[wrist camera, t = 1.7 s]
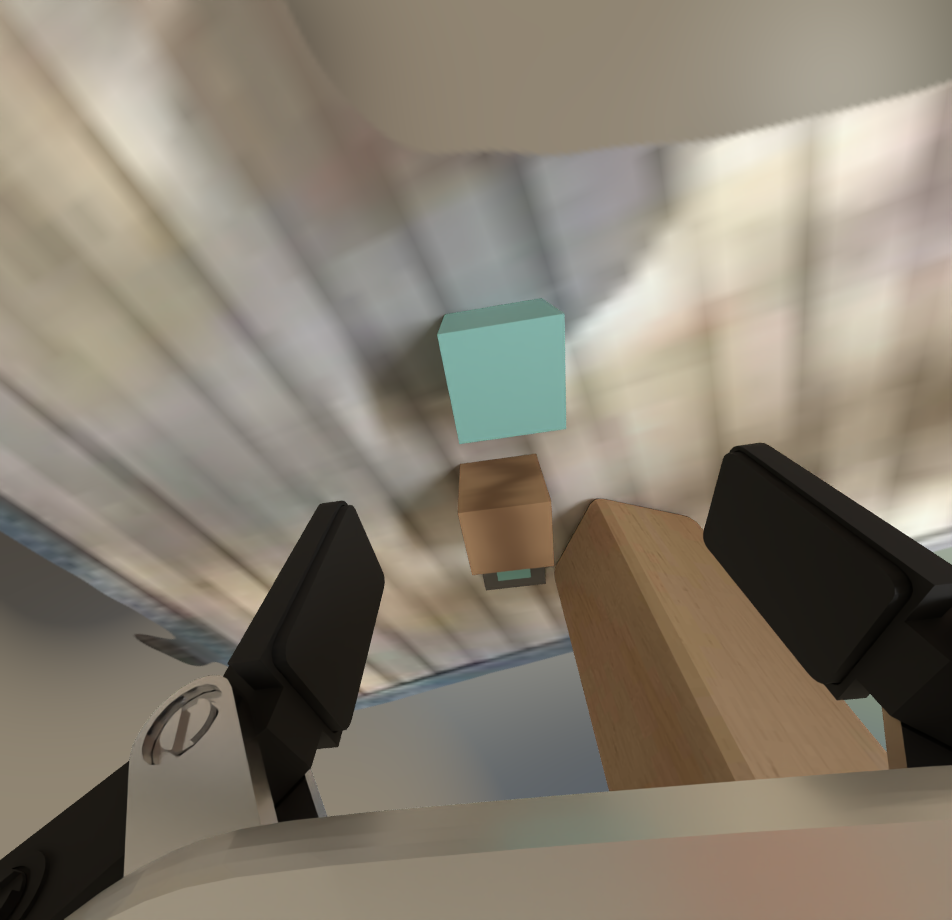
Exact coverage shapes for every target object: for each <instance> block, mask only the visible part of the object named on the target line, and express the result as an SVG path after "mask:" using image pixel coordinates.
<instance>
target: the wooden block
mask: <svg viewBox="0 0 952 920" xmlns="http://www.w3.org/2000/svg"><path fill="white" fill-rule="evenodd" d="M703 532H704V530H703V529H702V528H701V527H700V526H699V524H698V523H697V522H695V521H694V520H693V519H691V518H689V517H687V516H683V515H678V514H673V513H669V512H664V511H659V510H654V509H649V508H645V507H640V506H635V505H630V504H625V503H621V502H616V501H611V500H606V499H595V500H594V501H593V502H592V503H591V504H590V505H589V507H588V509H587V511H586V513H585V515H584V516H583V518H582V520H581V522H580V524H579V525H578V527H577V529H576V531H575V533H574V534H573V536H572V538H571V540H570V542H569V543H568V545H567V547H566V549H565V551H564V552H563V554H562V556H561V558H560V560H559V561H558V563H557V565H556V567H555V571H554V575H555V581H556V585H557V589H558V593H559V597H560V600H561V604H562V608H563V612H564V616H565V620H566V624H567V628H568V632H569V636H570V640H571V643H572V647H573V651H574V655H575V659H576V663H577V667H578V671H579V675H580V679H581V683H582V687H583V690H584V694H585V698H586V702H587V706H588V709H589V714H590V718H591V722H592V726H593V730H594V734H595V737H596V741H597V745H598V749H599V753H600V757H601V761H602V765H603V769H604V773H605V776H606V780H607V784H608V788H609V791H621V790H634V789H646V788H658V787H671V786H683V785H696V784H708V783H721V782H733V781H746V780H759V779H772V778H785V777H798V776H811V775H824V774H837V773H851V772H864V771H877V770H889V766H888V757H887V752H886V751H885V750H884V749H883V748H882V746H881V745H880V744H879V742H878V741H877V740H876V739H875V738H874V737H873V735H872V734H871V733H870V732H869V730H868V729H867V728H866V727H865V726H864V724H863V723H862V722H861V721H860V719H859V718H858V717H857V716H856V715H855V713H854V712H853V711H852V710H851V709H850V707H849V706H848V705H847V704H846V703H845V701H844V700H836V699H835V698H834V696H833V695H832V694H831V693H830V692H829V690H828V689H827V688H826V687H825V685H824V684H821V683H819V682H817V681H815V680H814V679H813V678H812V677H811V676H810V675H809V674H808V673H807V672H806V670H805V669H804V668H803V667H802V666H801V664H800V663H799V662H798V661H797V659H796V658H795V657H794V656H793V654H792V653H791V652H790V651H789V649H788V648H787V647H786V646H785V644H784V643H783V642H782V641H781V639H780V638H779V637H778V636H777V634H776V633H775V632H774V631H773V629H772V628H771V627H770V626H769V624H768V623H767V622H766V621H765V619H764V618H763V617H762V616H761V614H760V613H759V612H758V611H757V609H756V608H755V607H754V606H753V604H752V603H751V602H750V601H749V599H748V598H747V597H746V596H745V594H744V593H743V592H742V591H741V589H740V588H739V587H738V586H737V584H736V583H735V582H734V581H733V579H732V578H731V577H730V576H729V575H728V573H727V572H726V571H725V570H724V568H723V567H722V566H721V565H720V563H719V562H718V561H717V560H716V558H715V557H714V556H713V555H712V553H711V552H710V551H709V550H708V548H707V547H706V545H705V543H704V540H703Z"/></svg>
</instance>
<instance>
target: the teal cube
mask: <svg viewBox="0 0 952 920" xmlns="http://www.w3.org/2000/svg"><path fill="white" fill-rule="evenodd" d="M437 336H438V341H439V346H440V351H441V356H442V361H443V366H444V371H445V376H446V380H447V385H448V390H449V395H450V400H451V405H452V410H453V415H454V420H455V425H456V430H457V434H458V439H459V444H464V443H471V442H478V441H485V440H492V439H499V438H506V437H513V436H520V435H527V434H534V433H541V432H548V431H555V430H562V429H566V383H565V321H564V313H563V312H561V311H560V310H558V309H557V308H555V307H554V306H552V305H551V304H549V303H548V302H546V301H545V300H543V299H542V298H540V299H534V300H528V301H522V302H516V303H510V304H504V305H498V306H493V307H487V308H481V309H475V310H469V311H463V312H457V313H451V314H445V315H444V318H443V321H442V323H441V326H440V328H439V331H438V334H437Z"/></svg>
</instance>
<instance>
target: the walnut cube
mask: <svg viewBox="0 0 952 920" xmlns="http://www.w3.org/2000/svg"><path fill="white" fill-rule="evenodd" d="M458 517H459V521H460V525H461V529H462V534H463V538H464V542H465V546H466V551H467V555H468V559H469V563H470V568H471V572H472V575H478V574H487V573H496V572H505V571H513V570H522V569H531V568H540V567H549V566H554V552H553V530H552V508H551V499H550V496H549V493H548V490H547V487H546V484H545V480H544V477H543V474H542V471H541V468H540V465H539V462H538V459H537V455H536V454H530V455H523V456H516V457H508V458H501V459H494V460H486V461H479V462H472V463H464V464H460V477H459V497H458Z"/></svg>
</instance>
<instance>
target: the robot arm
mask: <svg viewBox="0 0 952 920" xmlns="http://www.w3.org/2000/svg"><path fill="white" fill-rule="evenodd" d="M703 540H704V543H705V545H706V547H707V548H708V550H709V551H710V552H711V553H712V555H713V556H714V557H715V558H716V560H717V561H718V562H719V563H720V565H721V566H722V567H723V568H724V570H725V571H726V572H727V573H728V575H729V576H730V577H731V578H732V579H733V581H734V582H735V583H736V584H737V586H738V587H739V588H740V589H741V591H742V592H743V593H744V594H745V596H746V597H747V598H748V599H749V601H750V602H751V603H752V604H753V606H754V607H755V608H756V609H757V611H758V612H759V613H760V614H761V616H762V617H763V618H764V619H765V621H766V622H767V623H768V624H769V626H770V627H771V628H772V629H773V631H774V632H775V633H776V634H777V636H778V637H779V638H780V639H781V641H782V642H783V643H784V644H785V646H786V647H787V648H788V649H789V651H790V652H791V653H792V654H793V656H794V657H795V658H796V659H797V661H798V662H799V663H800V664H801V666H802V667H803V668H804V669H805V670H806V672H807V673H808V674H809V675H810V676H811V677H812V678H813V679H814V680H815V681H817V682H819V683H821V684H824V685H825V687H826V688H827V689H828V690H829V692H830V693H831V694H832V695H833V696H834V698H835V699H836V700H847V699H859V698H866V697H867V696H868V695H869V694H871V695H872V696H873V697H874V698H875V700H876V701H877V702H878V703H879V704H880V705H881V706H882V712H883V720H884V730H885V739H886V748H887V757H888V766H889V770H877V771H864V772H851V773H837V774H824V775H811V776H798V777H785V778H772V779H759V780H746V781H733V782H721V783H708V784H696V785H683V786H671V787H658V788H646V789H634V790H621V791H609V792H597V793H585V794H573V795H561V796H548V797H536V798H525V799H514V800H502V801H490V802H478V803H467V804H455V805H443V806H432V807H420V808H408V809H397V810H385V811H376V812H366V813H357V814H348V815H339V816H330V817H327V814H326V811H325V808H324V805H323V803H322V799H321V797H320V794H319V791H318V788H317V785H316V782H315V779H314V776H313V773H312V771H311V766H312V763H313V760H314V756H315V753H316V750H317V749H321V748H332V747H338V746H339V742H340V738H341V734H342V731H343V730H346V729H347V728H348V727H349V725H350V723H351V720H352V716H353V712H354V708H355V704H356V700H357V696H358V692H359V688H360V684H361V680H362V675H363V671H364V667H365V663H366V659H367V655H368V651H369V647H370V643H371V639H372V635H373V630H374V626H375V622H376V618H377V614H378V610H379V606H380V602H381V598H382V594H383V589H384V583H385V580H384V574H383V571H382V569H381V567H380V564H379V562H378V560H377V557H376V555H375V553H374V551H373V548H372V546H371V544H370V542H369V539H368V537H367V535H366V532H365V530H364V528H363V526H362V523H361V521H360V519H359V517H358V514H357V512H356V510H355V508H354V507H353V506H352V505H348V504H347V503H346V502H345V501H336V502H329V503H322V504H320V505H319V506H318V507H317V509H316V511H315V513H314V514H313V516H312V518H311V520H310V521H309V523H308V525H307V526H306V528H305V530H304V532H303V533H302V535H301V537H300V539H299V540H298V542H297V544H296V546H295V547H294V549H293V551H292V553H291V554H290V556H289V558H288V559H287V561H286V563H285V565H284V566H283V568H282V570H281V572H280V573H279V575H278V577H277V579H276V580H275V582H274V584H273V585H272V587H271V589H270V591H269V592H268V594H267V596H266V598H265V599H264V601H263V603H262V605H261V606H260V608H259V610H258V612H257V613H256V615H255V617H254V618H253V620H252V622H251V624H250V625H249V627H248V629H247V631H246V632H245V634H244V636H243V638H242V639H241V641H240V643H239V644H238V646H237V648H236V650H235V651H234V653H233V655H232V657H231V658H230V660H229V662H228V665H229V667H228V669H227V670H226V672H225V674H224V676H223V677H222V676H220V675H208V676H205V677H202V678H199V679H196V680H194V681H192V682H190V683H189V684H187V685H185V686H183V687H181V688H180V689H179V690H177V691H176V692H175V693H174V694H172V695H171V696H170V697H168V698H167V699H166V700H165V701H164V702H163V703H162V704H161V705H160V706H159V707H158V708H157V709H156V710H155V711H154V712H153V713H152V715H151V716H150V717H149V719H148V720H147V721H146V723H145V724H144V725H143V727H142V728H141V730H140V732H139V734H138V736H137V738H136V739H135V741H134V744H133V746H132V751H131V754H130V759H129V761H128V762H127V763H126V764H124V765H123V766H122V767H120V768H119V769H118V770H116V771H115V772H114V773H113V774H111V775H110V776H109V777H107V778H106V779H105V780H104V781H102V782H101V783H100V784H98V785H97V786H96V787H94V788H93V789H92V790H91V791H89V792H88V793H87V794H85V795H84V796H83V797H82V798H80V799H79V800H78V801H76V802H75V803H74V804H72V805H71V806H70V807H69V808H67V809H66V810H65V811H63V812H62V813H61V814H59V815H58V816H57V817H56V818H54V819H53V820H52V821H51V822H49V823H48V824H47V825H45V826H44V827H43V828H41V829H40V830H39V831H37V832H36V833H35V834H33V835H32V836H31V837H30V838H28V839H27V840H26V841H24V842H23V843H22V844H20V845H19V846H18V847H17V848H15V849H14V850H13V851H11V852H10V853H9V854H7V855H6V856H5V857H4V858H2V859H1V860H0V920H952V565H951V564H950V563H948V562H946V561H945V560H944V559H942V558H940V557H939V556H937V555H936V554H934V553H933V552H931V551H930V550H928V549H927V548H925V547H924V546H922V545H921V544H919V543H918V542H916V541H914V540H913V539H911V538H910V537H908V536H907V535H905V534H904V533H902V532H901V531H899V530H898V529H896V528H895V527H893V526H891V525H890V524H888V523H887V522H885V521H884V520H882V519H881V518H879V517H878V516H876V515H875V514H873V513H872V512H870V511H869V510H867V509H865V508H864V507H862V506H861V505H859V504H858V503H856V502H855V501H853V500H852V499H850V498H849V497H847V496H846V495H844V494H842V493H841V492H839V491H838V490H836V489H835V488H833V487H832V486H830V485H829V484H827V483H826V482H824V481H823V480H821V479H819V478H818V477H816V476H815V475H813V474H812V473H810V472H809V471H807V470H806V469H804V468H803V467H801V466H800V465H798V464H797V463H795V462H793V461H792V460H790V459H789V458H787V457H786V456H784V455H783V454H781V453H780V452H778V451H777V450H775V449H774V448H772V447H770V446H769V445H767V444H765V443H755V444H748V445H741V446H736V447H733V448H732V449H731V450H730V452H729V453H728V454H726V455H725V456H724V458H723V461H722V465H721V469H720V472H719V476H718V480H717V483H716V487H715V491H714V495H713V498H712V502H711V506H710V509H709V513H708V517H707V521H706V524H705V528H704V532H703Z"/></svg>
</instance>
